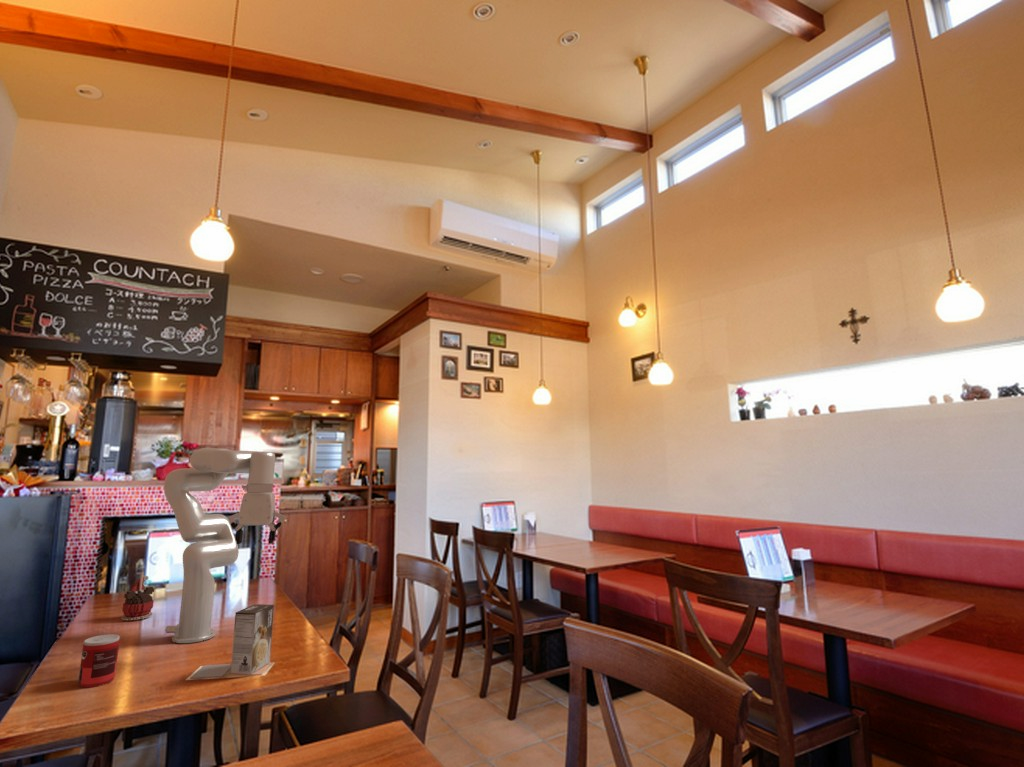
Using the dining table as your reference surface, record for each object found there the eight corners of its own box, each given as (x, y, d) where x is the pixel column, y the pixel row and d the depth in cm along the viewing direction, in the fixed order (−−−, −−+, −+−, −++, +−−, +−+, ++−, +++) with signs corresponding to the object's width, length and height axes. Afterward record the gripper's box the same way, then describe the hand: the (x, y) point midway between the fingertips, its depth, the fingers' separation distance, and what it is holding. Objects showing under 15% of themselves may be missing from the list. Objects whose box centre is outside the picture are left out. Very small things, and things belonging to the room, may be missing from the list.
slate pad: (190, 678, 139) (190, 677, 139) (203, 666, 148) (203, 665, 148) (222, 677, 140) (222, 675, 140) (233, 664, 149) (234, 663, 149)
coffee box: (249, 661, 151) (254, 603, 153) (270, 662, 150) (275, 604, 153) (229, 673, 142) (235, 611, 144) (251, 675, 141) (256, 612, 144)
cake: (131, 623, 192) (137, 572, 195) (113, 621, 195) (120, 571, 198) (158, 616, 202) (164, 567, 205) (141, 613, 205) (147, 566, 207)
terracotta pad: (230, 676, 141) (230, 675, 141) (241, 664, 149) (241, 663, 149) (261, 675, 142) (261, 673, 142) (270, 663, 151) (271, 661, 151)
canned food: (90, 676, 143) (96, 634, 145) (121, 676, 144) (126, 633, 145) (69, 688, 135) (76, 643, 137) (102, 687, 136) (108, 642, 138)
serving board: (184, 684, 138) (185, 679, 138) (200, 670, 148) (200, 666, 148) (264, 680, 142) (265, 675, 142) (274, 666, 151) (275, 662, 151)
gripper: (227, 489, 165) (221, 545, 163) (284, 490, 168) (280, 544, 165) (235, 488, 173) (230, 541, 170) (290, 489, 175) (286, 541, 173)
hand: (255, 543), depth 168 cm, fingers open, 9 cm apart
